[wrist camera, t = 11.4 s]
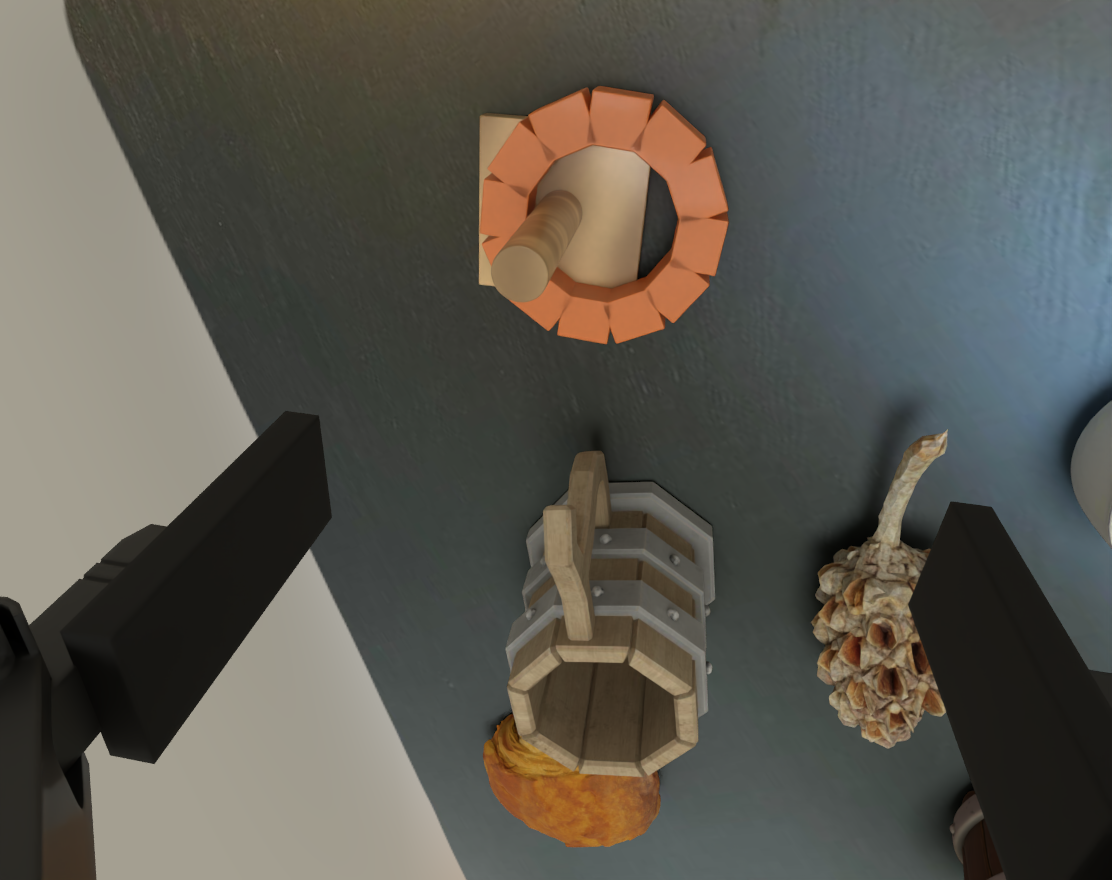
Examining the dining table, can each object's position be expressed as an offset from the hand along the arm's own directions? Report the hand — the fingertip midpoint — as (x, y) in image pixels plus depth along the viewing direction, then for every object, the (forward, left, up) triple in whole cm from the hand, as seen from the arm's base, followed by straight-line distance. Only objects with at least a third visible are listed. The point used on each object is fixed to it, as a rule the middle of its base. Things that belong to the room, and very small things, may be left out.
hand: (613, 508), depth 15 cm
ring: (+3, 0, -27) cm, 27 cm away
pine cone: (-17, +19, -28) cm, 38 cm away
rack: (+5, 0, -28) cm, 29 cm away
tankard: (0, +20, -28) cm, 35 cm away
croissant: (+1, +45, -28) cm, 53 cm away
